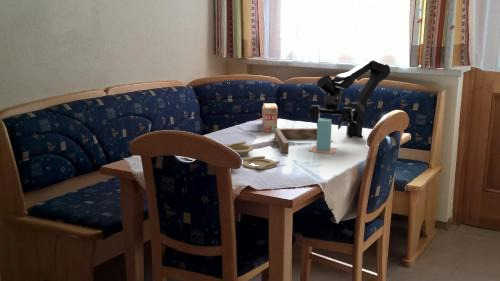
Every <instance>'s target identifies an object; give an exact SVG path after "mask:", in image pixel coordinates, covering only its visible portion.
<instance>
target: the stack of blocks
mask: <svg viewBox="0 0 500 281" xmlns="http://www.w3.org/2000/svg"><path fill="white" fill-rule="evenodd" d="M278 107H279V106H278V105H277V104H276V103H275V102H274V103H266V102H265V103H264V102H263V105H262V107H261V113H262V114H261V116H262V118H261V121H262V122H261V124H262V128H263V132H264V133H274V131H275V128H278V116H279V115H278V113H279V111H278V110H279V108H278Z"/></svg>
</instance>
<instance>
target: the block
mask: <svg viewBox="0 0 500 281" xmlns="http://www.w3.org/2000/svg"><path fill="white" fill-rule="evenodd" d="M332 120H333V119H332V118H325V117H324V118H322V117H320V119H319V120H318V124H317V123H316V128H317V139H316V145H315V146H316V150H320V151H329V150H330V147H331V145H332V144H331V142H332V123H333V122H332Z"/></svg>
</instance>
